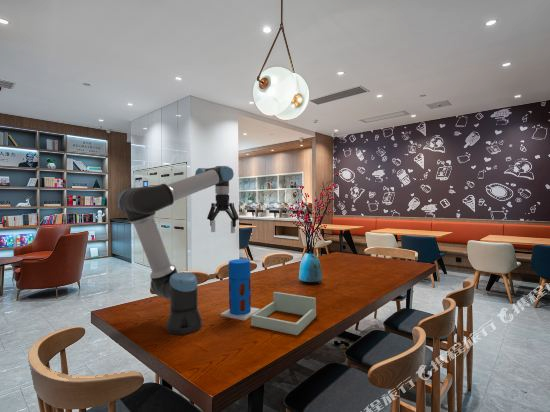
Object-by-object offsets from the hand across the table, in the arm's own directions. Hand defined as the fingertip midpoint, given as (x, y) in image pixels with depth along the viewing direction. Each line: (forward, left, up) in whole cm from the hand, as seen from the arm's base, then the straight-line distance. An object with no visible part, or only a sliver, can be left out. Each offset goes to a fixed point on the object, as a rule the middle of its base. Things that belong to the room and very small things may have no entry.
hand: (222, 232), depth 165 cm
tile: (-10, -18, -39) cm, 44 cm away
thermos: (-10, -18, -38) cm, 43 cm away
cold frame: (-9, -42, -39) cm, 58 cm away
